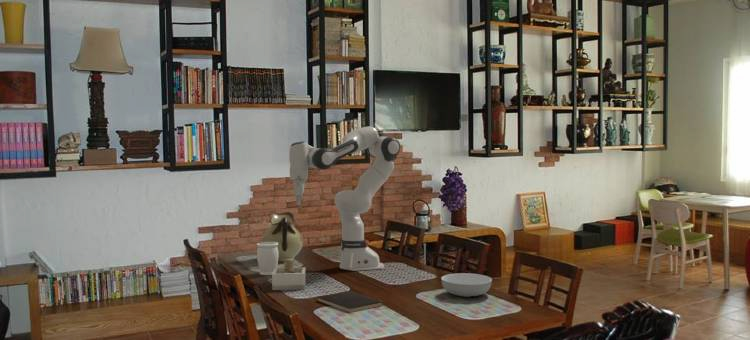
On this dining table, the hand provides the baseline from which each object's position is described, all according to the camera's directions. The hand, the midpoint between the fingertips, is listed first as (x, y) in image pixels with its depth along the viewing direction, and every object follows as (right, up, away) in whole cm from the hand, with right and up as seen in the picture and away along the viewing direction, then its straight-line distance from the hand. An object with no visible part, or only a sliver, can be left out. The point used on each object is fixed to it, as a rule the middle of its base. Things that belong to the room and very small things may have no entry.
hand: (299, 204), depth 315 cm
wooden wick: (-2, -33, -22) cm, 40 cm away
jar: (-16, -34, +5) cm, 38 cm away
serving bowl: (+74, -36, -42) cm, 92 cm away
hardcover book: (+26, -37, -54) cm, 70 cm away
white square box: (-2, -35, -22) cm, 42 cm away
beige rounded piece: (-13, -32, +41) cm, 54 cm away
